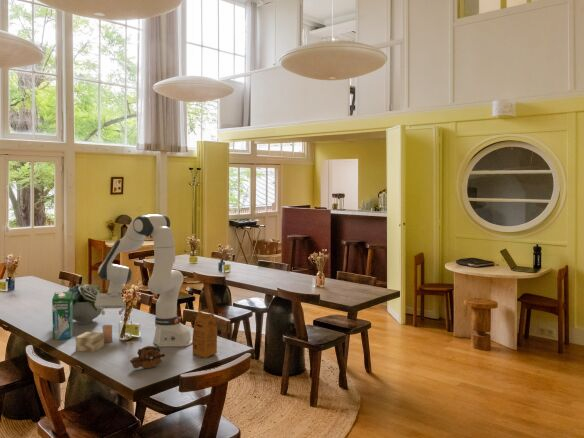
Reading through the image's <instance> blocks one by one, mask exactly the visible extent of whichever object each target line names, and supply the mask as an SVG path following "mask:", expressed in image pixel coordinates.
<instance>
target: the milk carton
mask: <svg viewBox="0 0 584 438" xmlns="http://www.w3.org/2000/svg"><path fill="white" fill-rule="evenodd" d="M51 303H52V305H51V308H52V309H51V310H52V312H51V313H52V316H51V317H52V340H66V339H67V340H69V339H71V338H72V337H73V335H74V323H73V322H74V320H73V306H72V291H71V292H67V291H55V292H54V295H53V297H52V301H51Z"/></svg>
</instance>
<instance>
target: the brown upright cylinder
mask: <svg viewBox="0 0 584 438" xmlns="http://www.w3.org/2000/svg"><path fill="white" fill-rule="evenodd" d="M102 333H104V344H111V343H113V325H112V324H104V325H102Z"/></svg>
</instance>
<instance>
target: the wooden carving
mask: <svg viewBox="0 0 584 438" xmlns="http://www.w3.org/2000/svg"><path fill="white" fill-rule="evenodd" d="M137 355H138V356H137V357H133V358H131V359H130V360H129V361H130V362H129V363H130V364H132V367H133V368H134V369H139V368H143V369H150V368H153V367H156V366H158V365H160V364H161V363H163V359H162V358H164V357H166V354H165V353H161V349H160V346H153V345H148V346H147V345H146V346H144V347H142V348H138V349H137Z"/></svg>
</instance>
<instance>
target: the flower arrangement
mask: <svg viewBox="0 0 584 438" xmlns="http://www.w3.org/2000/svg"><path fill="white" fill-rule="evenodd" d="M102 290H103V289H101V288H100V286H98V285H97V284H91V283H90V284H87V283H84V284H79V285H75V286H74V285H73V286H72V287H69V289H68V290H67V291H66V292H71V291H72V306H73V321H75V322H76V323H77V324H79V325H88V324H91V323H92V322H93V320H94V319H96V318H98V317H99V316H100V315H102V314H101V313H102V311H101V309H97V308H96V307H95V301H96V296H97V295H98V294H100V293H102V294H103V291H102Z"/></svg>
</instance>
